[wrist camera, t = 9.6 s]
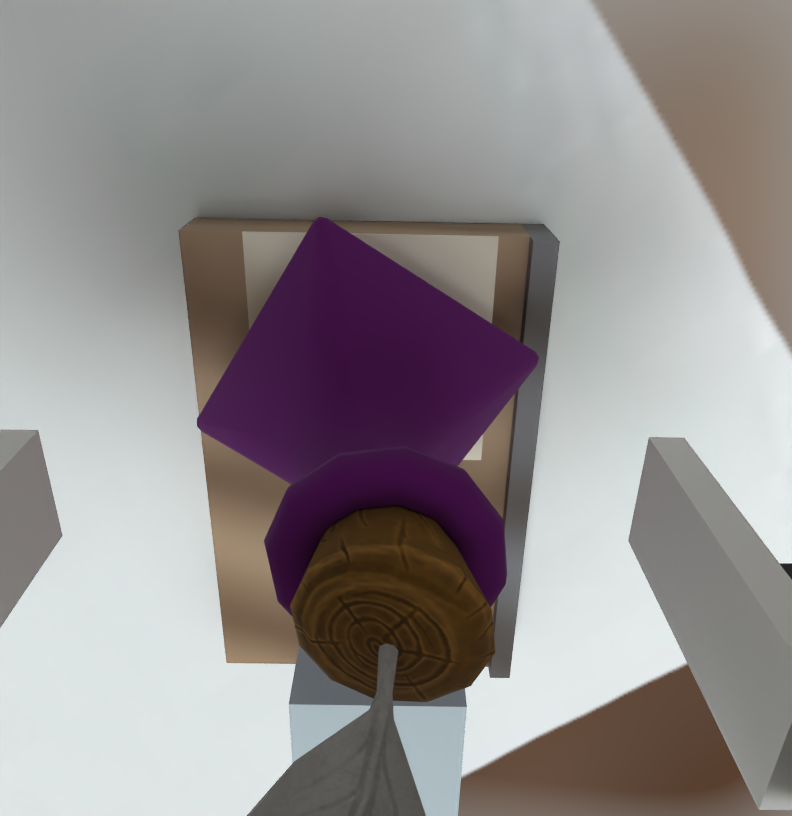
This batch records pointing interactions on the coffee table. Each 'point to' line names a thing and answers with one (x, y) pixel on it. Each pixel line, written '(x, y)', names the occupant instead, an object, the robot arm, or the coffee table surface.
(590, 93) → the coffee table surface
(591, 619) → the coffee table surface
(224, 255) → the display board
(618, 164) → the coffee table surface
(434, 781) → the tea tin
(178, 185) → the coffee table surface
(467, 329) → the perfume bottle
